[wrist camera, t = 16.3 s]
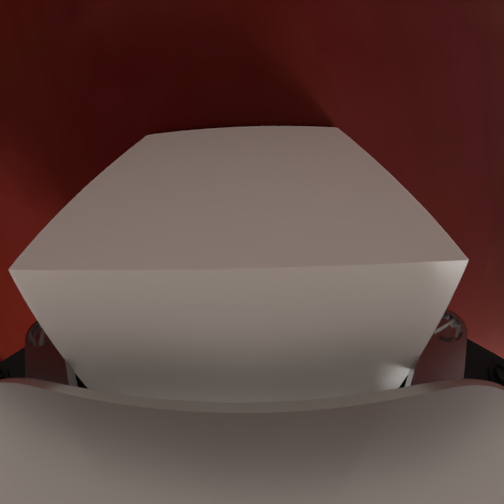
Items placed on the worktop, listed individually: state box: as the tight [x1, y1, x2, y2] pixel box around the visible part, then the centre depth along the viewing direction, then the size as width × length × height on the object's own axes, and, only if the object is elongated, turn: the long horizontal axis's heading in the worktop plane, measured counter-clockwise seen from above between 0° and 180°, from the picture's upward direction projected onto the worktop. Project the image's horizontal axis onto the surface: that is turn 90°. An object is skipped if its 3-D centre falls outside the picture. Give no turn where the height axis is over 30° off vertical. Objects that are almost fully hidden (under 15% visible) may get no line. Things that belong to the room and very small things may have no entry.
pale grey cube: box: [9, 126, 469, 402], centre depth 10 cm, size 8×8×9 cm
